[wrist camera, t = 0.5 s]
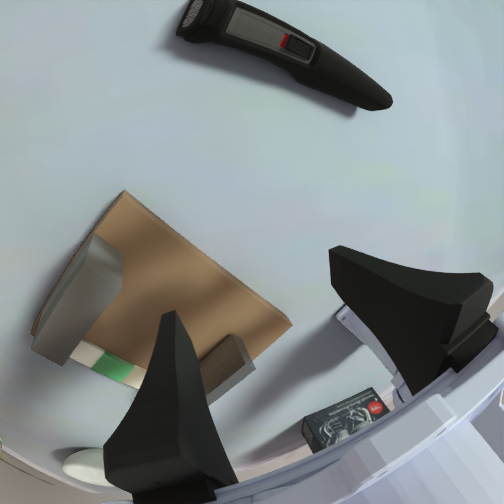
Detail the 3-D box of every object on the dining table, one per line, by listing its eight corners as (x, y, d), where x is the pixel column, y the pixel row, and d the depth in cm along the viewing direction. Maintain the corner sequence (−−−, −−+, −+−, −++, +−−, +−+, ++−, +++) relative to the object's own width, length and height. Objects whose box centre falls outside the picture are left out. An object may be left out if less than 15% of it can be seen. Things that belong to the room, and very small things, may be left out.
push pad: (242, 338, 24) (255, 368, 22) (168, 400, 26) (174, 430, 23) (232, 333, 24) (245, 363, 21) (158, 397, 25) (164, 427, 22)
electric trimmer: (360, 121, 21) (386, 126, 19) (171, 40, 14) (177, 28, 12) (373, 82, 20) (401, 84, 17) (193, -6, 13) (203, -24, 10)
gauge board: (286, 315, 27) (313, 355, 23) (190, 397, 29) (201, 439, 24) (124, 189, 18) (116, 220, 13) (34, 322, 19) (19, 370, 15)
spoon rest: (103, 473, 34) (108, 509, 28) (47, 448, 27) (47, 489, 21) (217, 432, 35) (232, 475, 29) (163, 400, 28) (174, 456, 22)
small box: (372, 384, 43) (411, 435, 33) (364, 404, 47) (397, 451, 37) (302, 416, 40) (338, 477, 30) (300, 433, 43) (330, 488, 33)
